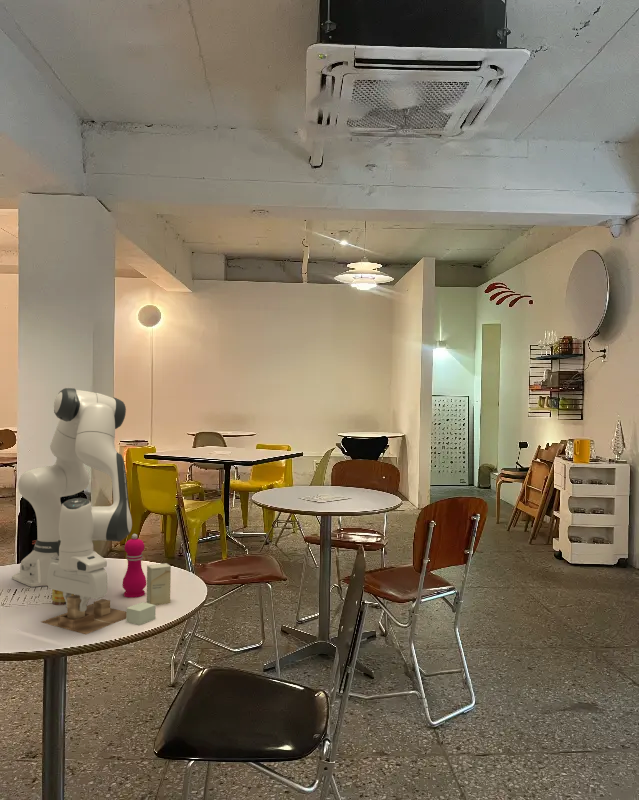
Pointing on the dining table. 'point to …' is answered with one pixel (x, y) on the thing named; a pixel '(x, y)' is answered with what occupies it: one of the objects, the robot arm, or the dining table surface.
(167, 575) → the skincare box
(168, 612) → the dining table surface
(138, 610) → the housing
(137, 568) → the pepper mill
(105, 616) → the board
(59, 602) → the sauce bottle
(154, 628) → the dining table surface
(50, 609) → the dining table surface
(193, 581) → the dining table surface
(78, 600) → the oak peg
